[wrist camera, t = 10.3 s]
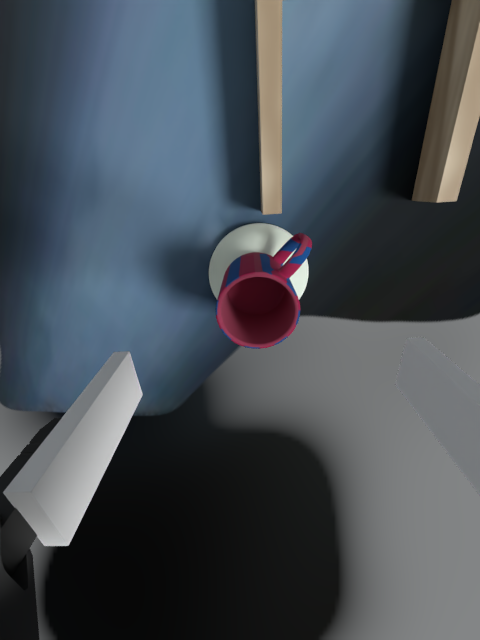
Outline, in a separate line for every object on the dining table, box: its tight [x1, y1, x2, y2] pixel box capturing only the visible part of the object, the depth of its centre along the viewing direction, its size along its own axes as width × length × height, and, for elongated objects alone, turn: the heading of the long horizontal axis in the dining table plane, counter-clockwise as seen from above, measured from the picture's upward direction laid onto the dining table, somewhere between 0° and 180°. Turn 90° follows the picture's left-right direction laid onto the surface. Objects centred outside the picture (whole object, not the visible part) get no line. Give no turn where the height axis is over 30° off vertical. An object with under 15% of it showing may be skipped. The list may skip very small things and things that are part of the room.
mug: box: [216, 233, 312, 349], centre depth 23 cm, size 7×10×7 cm
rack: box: [255, 0, 480, 215], centre depth 19 cm, size 15×15×4 cm
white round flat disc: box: [209, 223, 308, 299], centre depth 27 cm, size 10×10×1 cm
